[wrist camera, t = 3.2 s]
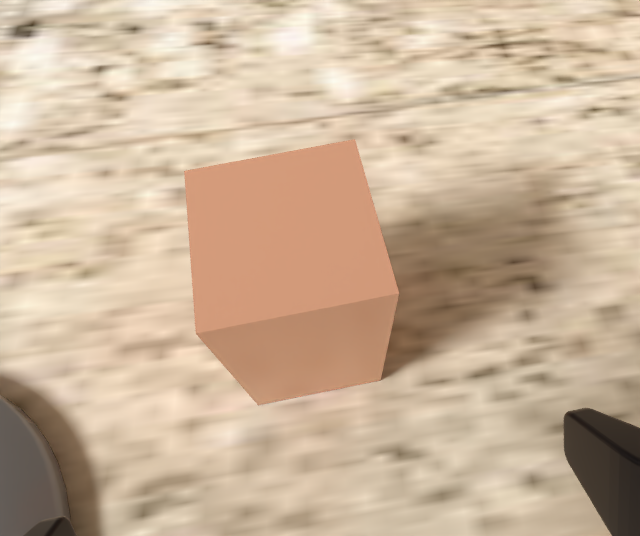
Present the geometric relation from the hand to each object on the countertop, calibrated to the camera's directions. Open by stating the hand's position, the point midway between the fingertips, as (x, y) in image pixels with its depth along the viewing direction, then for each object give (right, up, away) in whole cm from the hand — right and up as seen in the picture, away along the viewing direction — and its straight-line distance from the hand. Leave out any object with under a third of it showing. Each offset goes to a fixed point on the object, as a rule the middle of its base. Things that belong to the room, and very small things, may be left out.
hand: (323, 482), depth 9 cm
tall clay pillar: (-1, +1, +15) cm, 15 cm away
